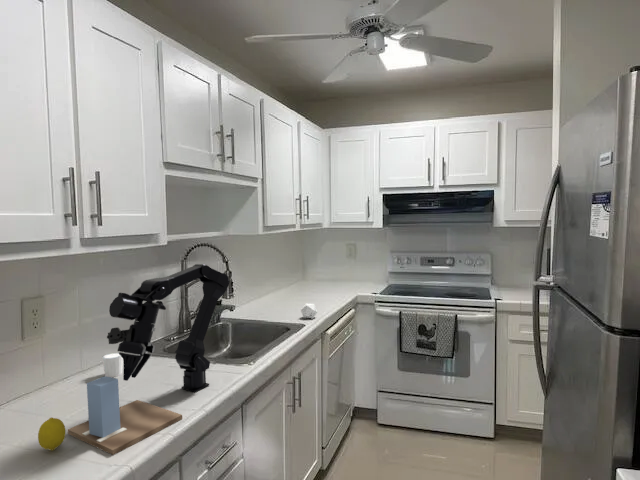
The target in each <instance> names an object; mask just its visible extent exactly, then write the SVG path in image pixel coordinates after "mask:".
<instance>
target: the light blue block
mask: <svg viewBox="0 0 640 480" xmlns="http://www.w3.org/2000/svg"><path fill="white" fill-rule="evenodd" d="M86 394H87V410H88V411H87V412H88V421H89V434H91V435H95V436H98V437H102V438H104V437H106V436H107V435H109V434H111V433H113V432H115V431H117V430H118V429H120V409H119V407H120V394H119V378H116V377H106V376H105V375H104V376H102V377H99V378H97V379H94V380H91V381H88V382H86Z"/></svg>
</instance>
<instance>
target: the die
mask: <svg viewBox="0 0 640 480" xmlns="http://www.w3.org/2000/svg"><path fill="white" fill-rule="evenodd" d="M300 312H301V314H302V317H303V319H306V318H311V319H310V320H314V318H315V316H316V315H317V313H318V310H317V308H316V305H315V303H305V304H304V305H303V306H302V307H301V309H300Z"/></svg>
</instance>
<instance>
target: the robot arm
mask: <svg viewBox="0 0 640 480" xmlns="http://www.w3.org/2000/svg"><path fill="white" fill-rule="evenodd" d="M196 280H198V281H199V282H201V283H202V288H201V289H202V294H203V297H202V298H201V299H202V300H201V302H200V305H199V308H198V311H197V313H196V316H195V318H194V321H193V323H192V327H191V329H190V332H189V335H188V337H187V338H186V339H185V340H180V341H179V342H178V346H177V348H176V350H175V351H174V353H175V357H174V358H175V361H176V363H177V365H178V366H179V368H180V370H182V369H183V380H182V381H183V385H182V386H181V387H180V388H181V390H185V391H189V392H192V393H195V392H198V391H200V390H203V389H204V388H207V387H209V386H210V383H208V382H207V377H206V376H207V375H206V374H207V373H206V372H207V370H209V369H210V365H211V361H210V360H209V359H207V358H206V357H205V356H204V355H205V351H206V349H205V344H204V340H205V338H206V334H207V331H208V329H209V326H210V324H211V320H212V317H213V316H214V315H213V314H214V312H215V309H216V307H217V306H216V305H217V304H218V301H219V299H220V298H222V297H223V296H224V295H225V293H226V292H227V290H228V288H229V285H230V279H229V276H228V275H227V273H222V272H220V271H218V270H216V269H214V268H212V267H210V266H208V265H207V264H204V263H201V264H200V263H196V264H194V265H192V266H191V267H187V268H185V269H182V270H181V271H178V272H174V273H173V274H170V275H167V276H164V277H156V278H155V277H154V278H150V279H145V280H143V281H142V282H141V285H140V286H139V287H138V288H137V289H136V290H135V291H134V292H132V294H131V295H130V294H128V293H126V292H118V295H117V296H116V297H115V298H114V299H113V300H112V302H111V303H110V305H109V308H108V309H109V316H111V317H112V318H115V319H116V318H117V319H123V320H128V321H133V320H134V321H133V323H132V324H130V325H129V329H122V330H121V329H120V328H119V327H112V328H110V331H109V332H107V336H106V339H107V340H108V345H115V344H119V345H118V348H117V352H118V353H119V355H121V357H122V358H123V372H122V377H123V381H126V382H127V381H129V379H130V378H136V377H137V376H138V375H139V373H140V372H141V371H142V369H143V367H144V366H145V365H146V364H147V362H148V361H149V360H150V359H151V357H152V356H153V354H154V353H155V349H156V345H155V344H154V343H153V342H152V338H153V334H154V333H155V331H156V322H157V319H158V314H159V311H160V310H162V311H165V310H167V307H166V305H164V303H163V301H162V300H164V299H166V298H167V297H169V296H170V295H172V293H173V292H174V290H176V289H178V288H180V287H183V286H184V285H186V284H189V283H191V282H194V281H196Z"/></svg>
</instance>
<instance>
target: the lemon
mask: <svg viewBox="0 0 640 480" xmlns="http://www.w3.org/2000/svg"><path fill="white" fill-rule="evenodd" d="M65 438H66V427H65V423H64V422H63V420H61V419H60V418H56V417H49V418H48V419H47V420H45V421H44V422H43V423H42V424H41V425H40V427H39V430H38V433H37V440H38V443H39V445H40V447H41V448H42V449H44V450H50V451H51V452H53V451H55V450H56V449H57V448H58V447H59V446H61V445H62V443H63V442H64V440H65Z"/></svg>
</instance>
